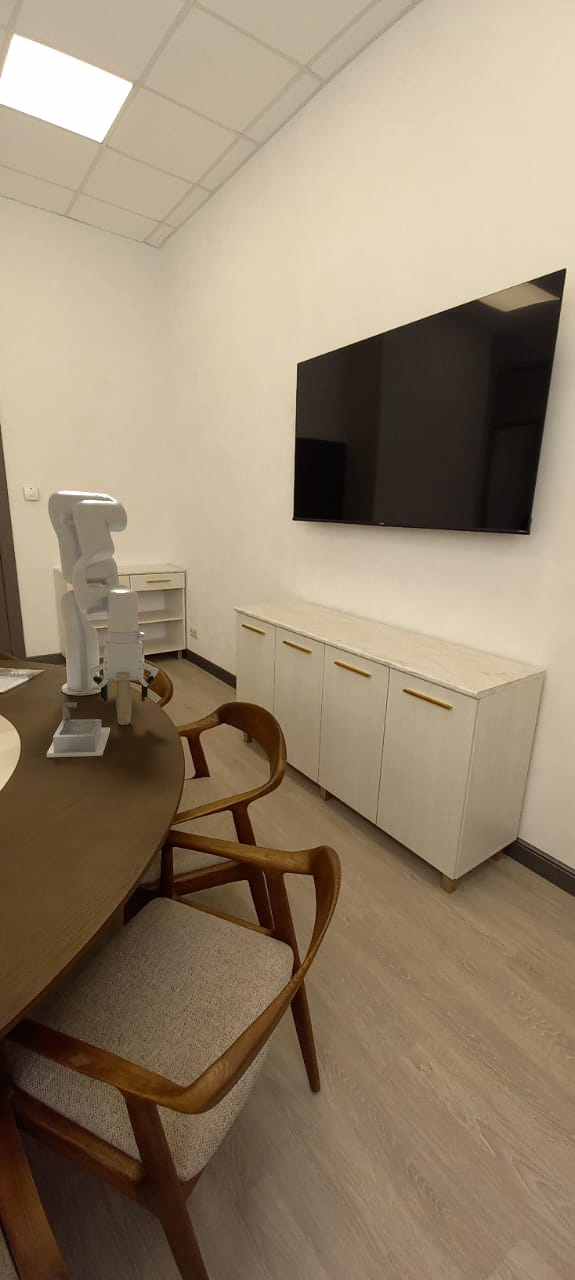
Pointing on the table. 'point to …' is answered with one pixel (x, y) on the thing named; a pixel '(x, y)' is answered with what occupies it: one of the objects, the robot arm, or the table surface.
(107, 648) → the robot arm
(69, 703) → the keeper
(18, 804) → the table surface
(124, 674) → the handle
